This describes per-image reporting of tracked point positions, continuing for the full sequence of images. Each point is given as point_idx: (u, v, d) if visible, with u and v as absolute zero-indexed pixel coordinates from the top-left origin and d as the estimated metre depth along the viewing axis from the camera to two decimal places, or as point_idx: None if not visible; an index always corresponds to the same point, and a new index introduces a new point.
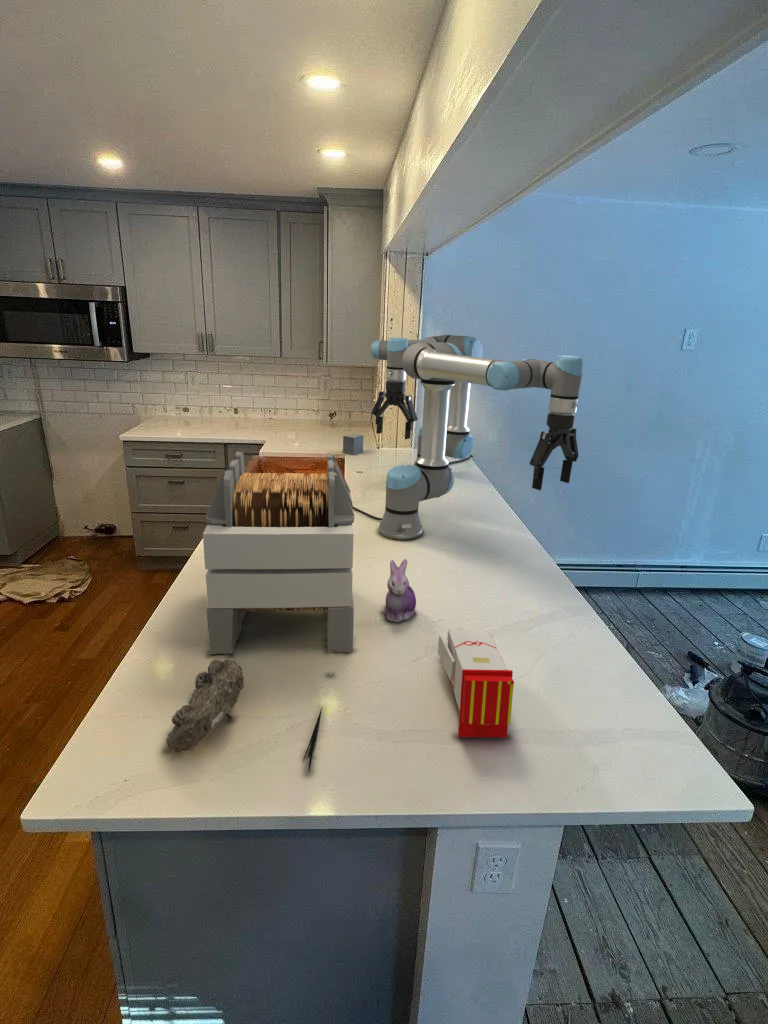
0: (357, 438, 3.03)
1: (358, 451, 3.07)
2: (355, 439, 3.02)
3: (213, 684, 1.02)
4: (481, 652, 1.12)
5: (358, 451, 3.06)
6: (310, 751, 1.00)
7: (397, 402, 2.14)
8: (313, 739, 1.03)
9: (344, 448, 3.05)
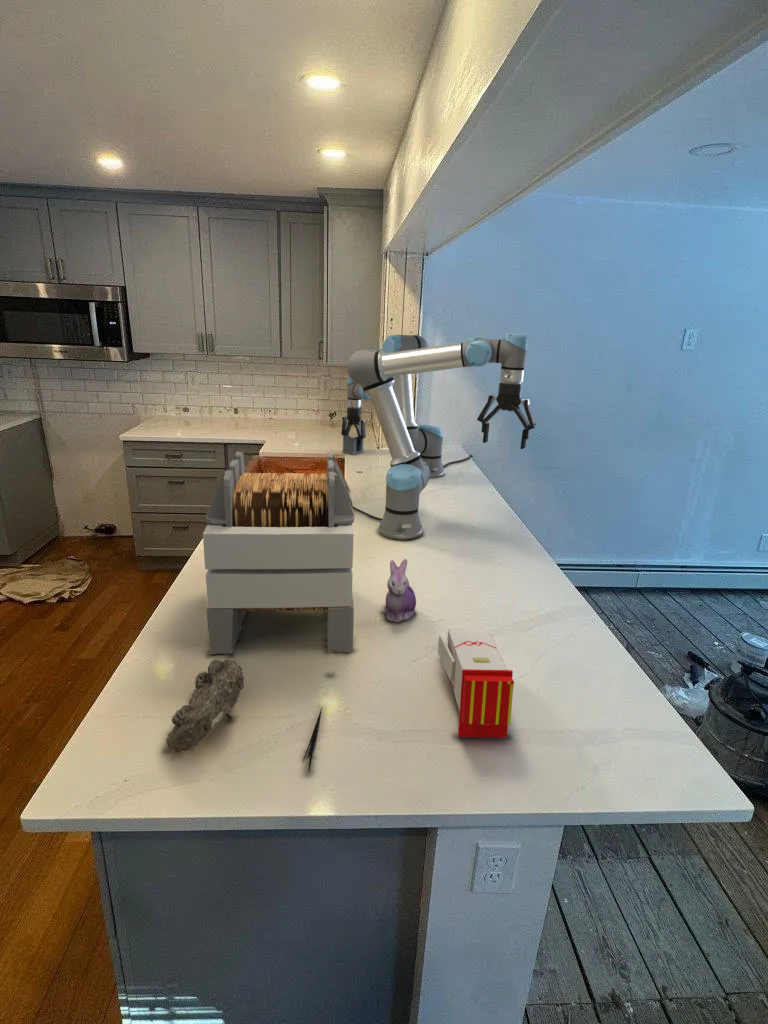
0: (357, 438, 3.03)
1: (358, 451, 3.07)
2: (355, 439, 3.02)
3: (213, 684, 1.02)
4: (481, 652, 1.12)
5: (358, 451, 3.06)
6: (310, 751, 1.00)
7: (354, 423, 3.01)
8: (313, 739, 1.03)
9: (344, 448, 3.05)
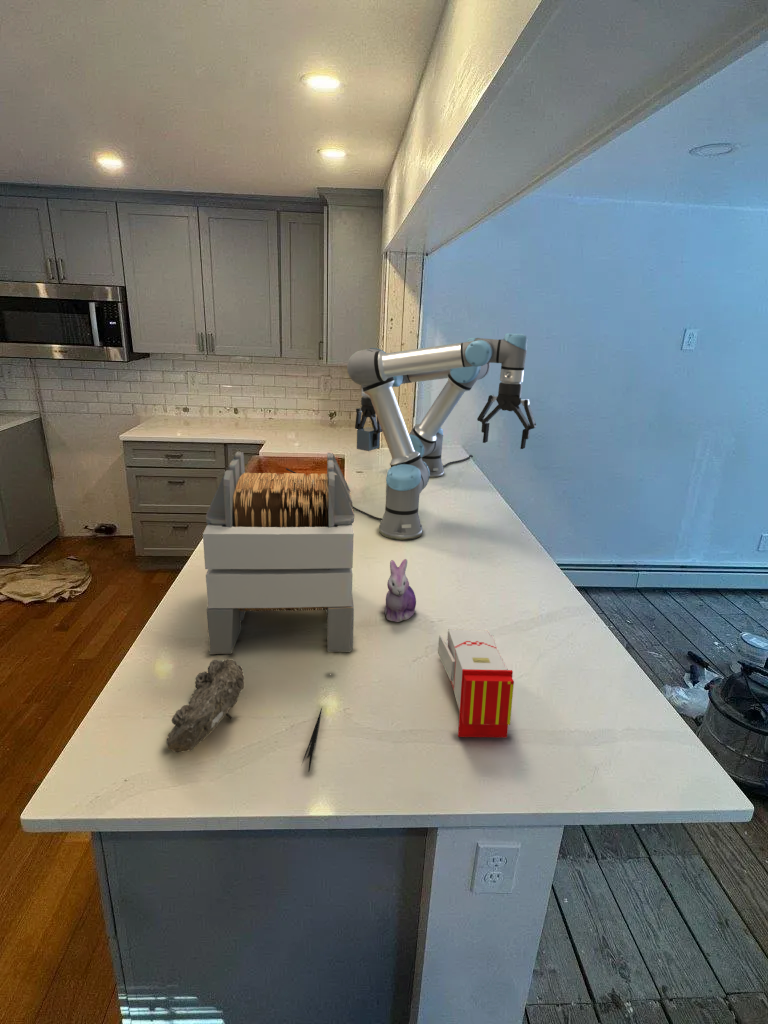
0: (373, 432, 2.67)
1: (374, 447, 2.71)
2: (371, 433, 2.66)
3: (213, 684, 1.02)
4: (481, 652, 1.12)
5: (373, 447, 2.70)
6: (310, 751, 1.00)
7: (370, 415, 2.65)
8: (313, 739, 1.03)
9: (358, 443, 2.69)
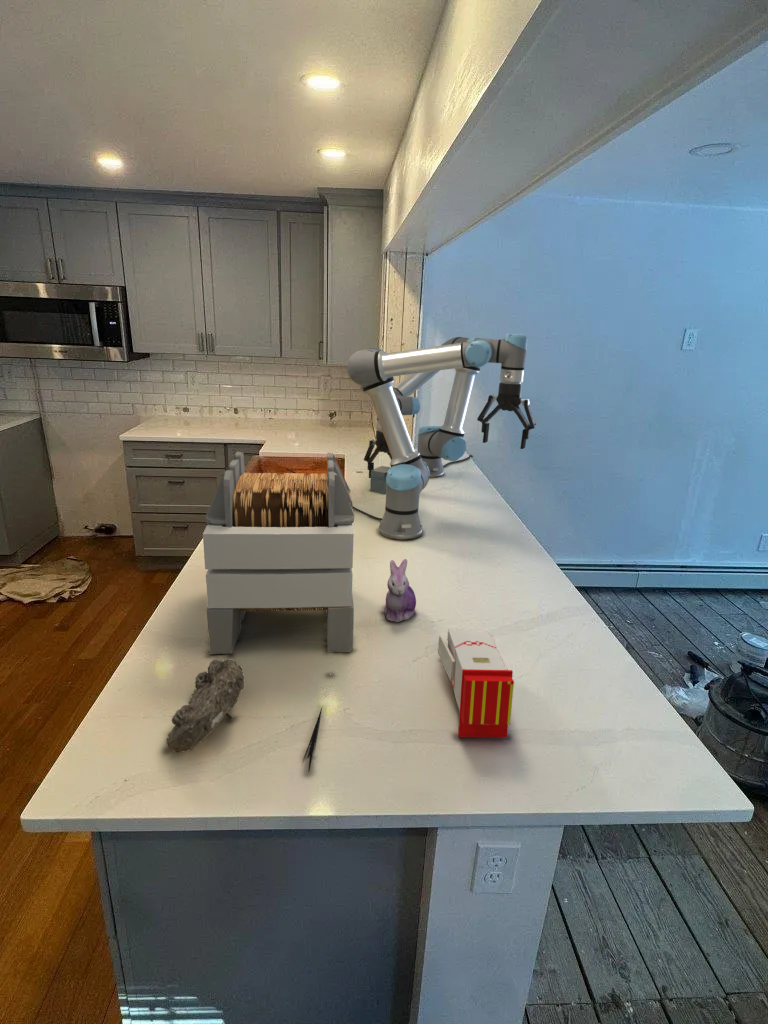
0: None
1: None
2: None
3: (213, 684, 1.02)
4: (481, 652, 1.12)
5: None
6: (310, 751, 1.00)
7: (386, 450, 2.39)
8: (313, 739, 1.03)
9: (372, 485, 2.44)
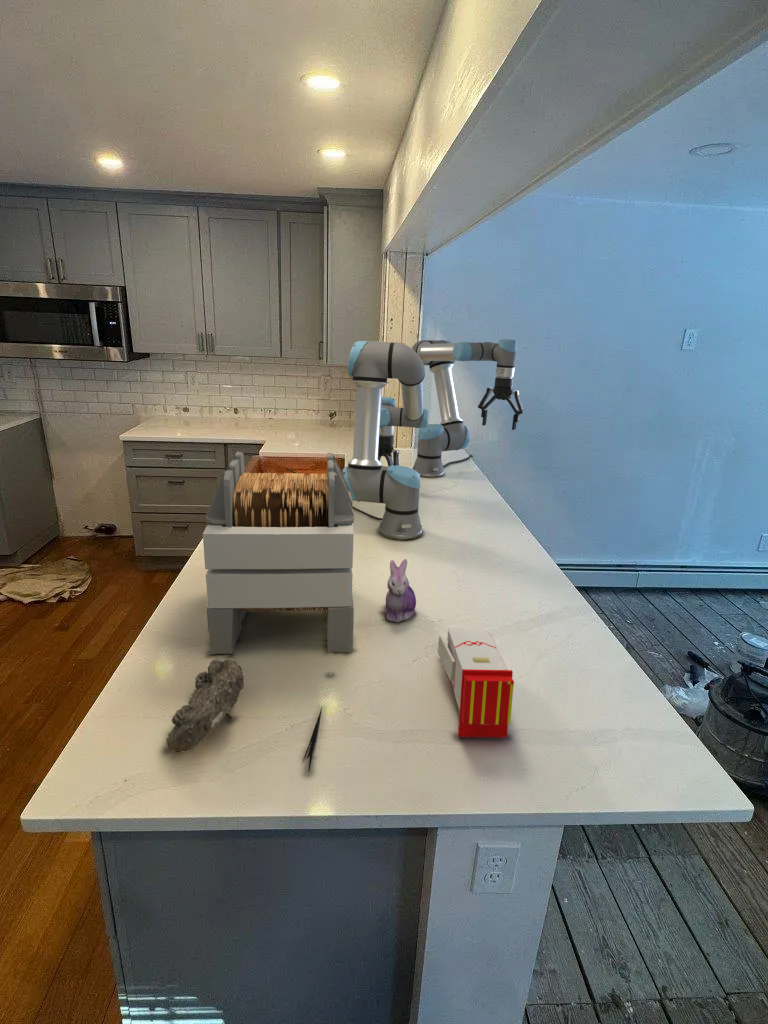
0: None
1: None
2: None
3: (213, 684, 1.02)
4: (481, 652, 1.12)
5: None
6: (310, 751, 1.00)
7: (506, 397, 2.39)
8: (313, 739, 1.03)
9: None
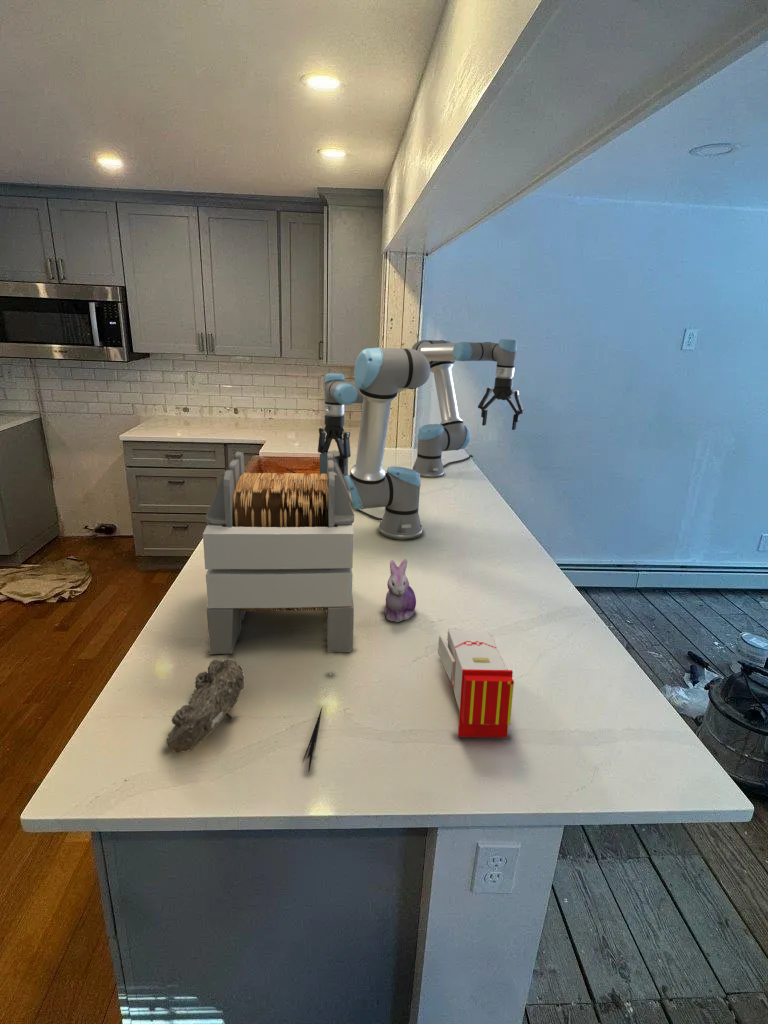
0: (339, 457, 2.20)
1: None
2: (336, 458, 2.19)
3: (213, 684, 1.02)
4: (481, 652, 1.12)
5: None
6: (310, 751, 1.00)
7: (506, 397, 2.39)
8: (313, 739, 1.03)
9: (321, 471, 2.22)
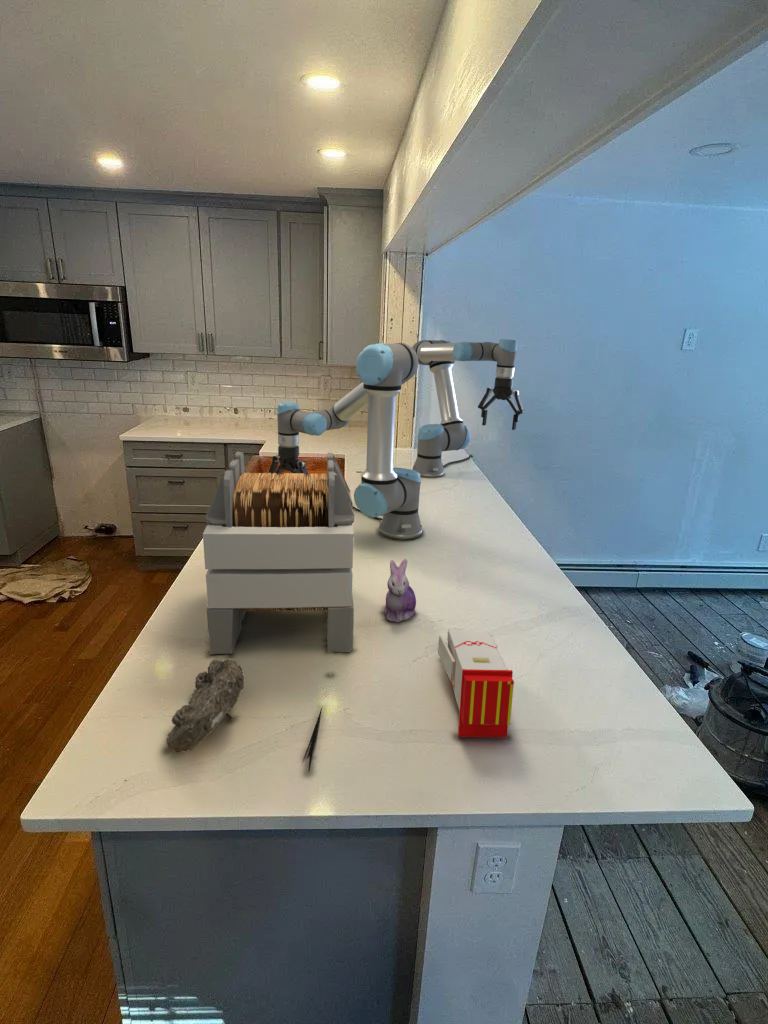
0: None
1: None
2: None
3: (213, 684, 1.02)
4: (481, 652, 1.12)
5: None
6: (310, 751, 1.00)
7: (506, 397, 2.39)
8: (313, 739, 1.03)
9: None
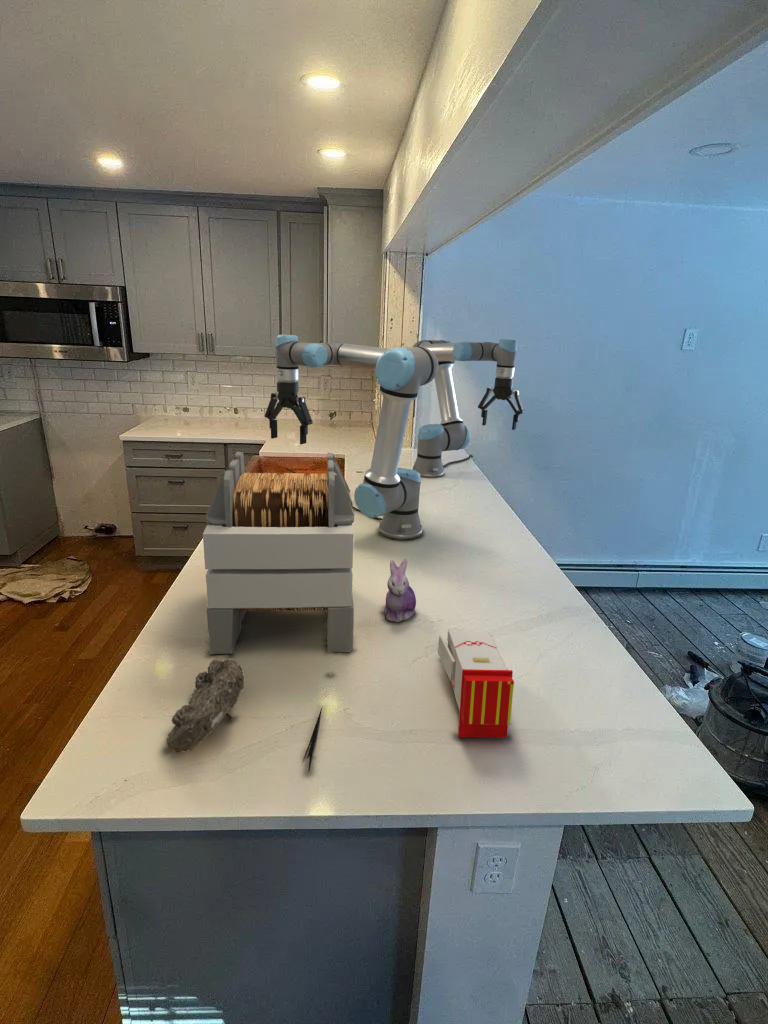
0: None
1: None
2: None
3: (213, 684, 1.02)
4: (481, 652, 1.12)
5: None
6: (310, 751, 1.00)
7: (506, 397, 2.39)
8: (313, 739, 1.03)
9: None
